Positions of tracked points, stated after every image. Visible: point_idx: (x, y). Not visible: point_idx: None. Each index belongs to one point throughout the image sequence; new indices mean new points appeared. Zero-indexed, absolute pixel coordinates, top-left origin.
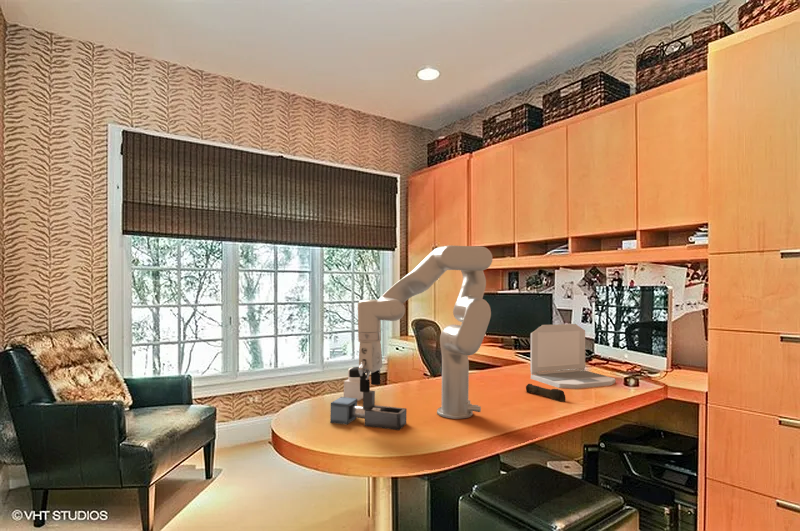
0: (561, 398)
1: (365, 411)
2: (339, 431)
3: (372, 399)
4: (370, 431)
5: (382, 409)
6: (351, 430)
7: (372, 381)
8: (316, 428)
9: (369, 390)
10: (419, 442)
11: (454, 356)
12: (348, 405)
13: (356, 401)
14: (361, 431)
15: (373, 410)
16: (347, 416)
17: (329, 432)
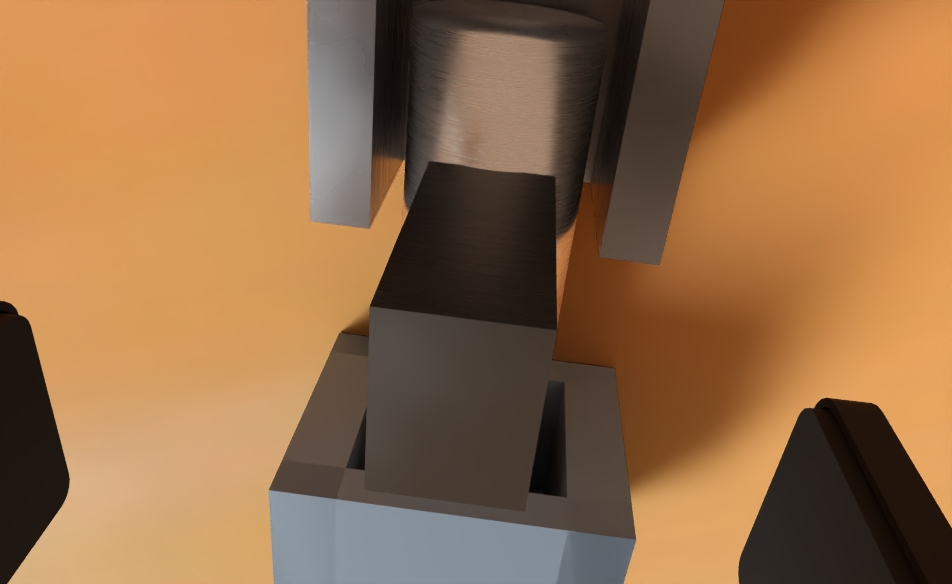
0: None
1: (660, 248)
2: (854, 381)
3: (534, 245)
4: (845, 45)
5: (381, 14)
6: (814, 278)
7: (21, 525)
8: None
9: (865, 417)
10: None
11: None
12: (591, 515)
13: (306, 465)
14: (848, 159)
15: (631, 132)
16: (609, 422)
17: None
